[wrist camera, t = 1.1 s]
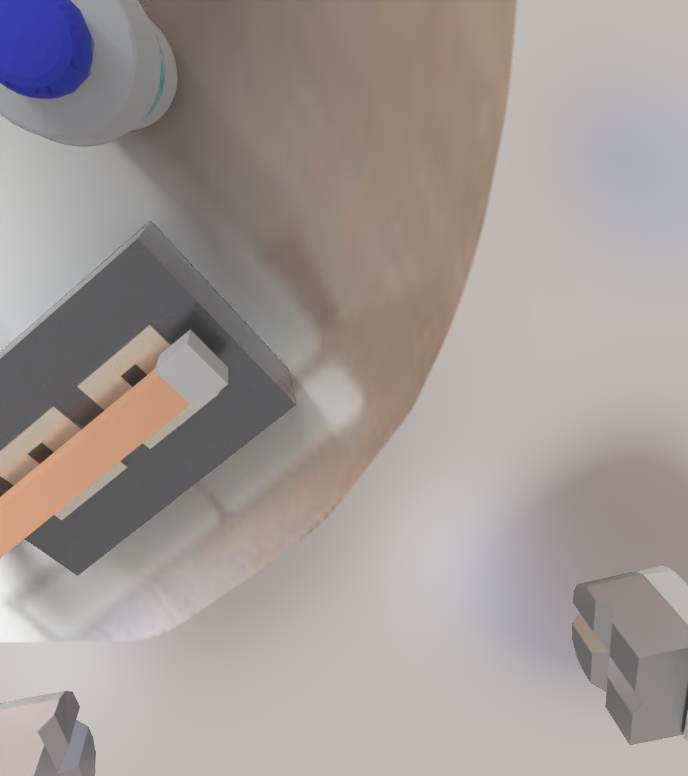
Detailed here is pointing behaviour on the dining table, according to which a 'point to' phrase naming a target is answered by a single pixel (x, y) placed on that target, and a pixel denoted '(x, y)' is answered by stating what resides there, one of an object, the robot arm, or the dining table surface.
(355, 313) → the dining table surface
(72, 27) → the bottle
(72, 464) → the swing arm
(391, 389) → the dining table surface
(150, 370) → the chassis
